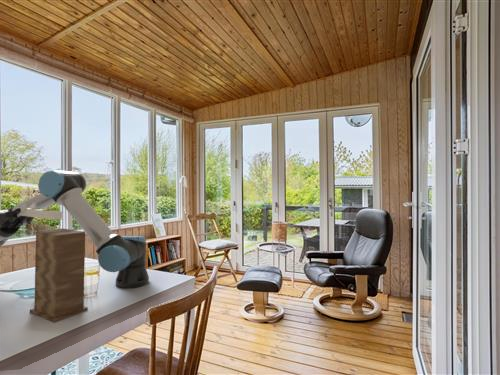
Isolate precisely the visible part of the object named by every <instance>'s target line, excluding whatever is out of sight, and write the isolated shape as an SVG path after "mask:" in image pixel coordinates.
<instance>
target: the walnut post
mask: <svg viewBox="0 0 500 375" xmlns="http://www.w3.org/2000/svg"><path fill="white" fill-rule="evenodd" d="M85 253H86V233H85V231H84V230H83V231H82V230H76V229H68V228H58V229H57V228H56V229H49V230H40V231H39V230H38V231H36V232H35V258H34V260H35V263H34V264H35V268H34V269H35V271H34V302H33V303H34V305H33V306H34V308H31V309H30V308H29V313H30V314H33V315H35V316H38V317H40V318H42V319H45V320H48V321H49V322H53V323H57V322H60V321H63V320H65V319H69V318H70V317H73V316H75V315H78V314H81V313H84V312H86V311H88V310H89V308H88V306H85V304H84V303H85V300H84V299H85V298H84V297H85V264H86V263H85V260H86V259H85V258H86V257H85V255H86V254H85Z"/></svg>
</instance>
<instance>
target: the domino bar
mask: <svg viewBox="0 0 500 375" xmlns="http://www.w3.org/2000/svg"><path fill="white" fill-rule="evenodd" d="M16 209H17V208H16ZM21 216H28V217H35V218H36V219H44V220H51V221H57V220H58V221H59V220H63V211H61V210H53V209H52V210H51V209H35V208H27V210H25V211H24V212H23V213H22V214H21ZM35 218H34V219H35Z"/></svg>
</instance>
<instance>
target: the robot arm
mask: <svg viewBox="0 0 500 375" xmlns="http://www.w3.org/2000/svg"><path fill="white" fill-rule="evenodd" d="M37 185H38V186H37V187H38V190H39V194H37V195H34V196H32V197H30V198H29V199H26V200H24V201H22V202H20V203H18V204H16V205H14V206H12V207H9V208H8V209H0V247H2V246H4V245H5V244H6V242H7V241H8V240H9V239H10V238H12V237H13V236H14V235H15V234H16V233H17V232H18V231H19V229H20V227H22V226H23V225H26V224H27V225H31V222H32V221H33V220H34V219H35V217H28V216H21V214H22V213H23V212H24V211H25V210H27V208H35V209H44V210H46V209H47V208H49V207H51V206H53V205H55V204H56V205H59V206H62V207H63V208H65V209H66V211H67V212H68V213H69V215H70V216H71V217H72V218H73V219H74V221H75V222H76V223H77V224H78V225H79V227H80V228H81V229H82V230H83V232H85V235H87V236H88V238H89V239H90V240H91V241H92V242H93V244H94V245H95V246H96V248H95V249H96V250H95V252H96V253H97V258H98V260H97V262H98V264H99V266H100V267H101V268H102V269H103V270H105V271H106V272H109V273H116V272H117V275H116V278H115V286H116V287H117V288H122V289H133V287H134V288H139V286H140V287H143V286H145V284H146V285H147V284H148V283H149V281H150V277H149V276H150V275H149V273H148V271H147V270H148V269H147V267H146V266H147V265H146V257H147V239H146V237H145V236H143V235H141V236H140V235H123V236H121V234H117V233H114V232H113V230H111V228H110V227H109V226H108V225H107V223H106V222H105V221H104V220H103V218H102V217H101V216H100V215H99V214H98V212H97V211H96V210H95V209H94V208H93V206H92V205H91V204H90V203H89V201H88V200H87V199H86V198H85V196H84V195H83V194H82V193H83V192H84V191H85V190H86V188H87V180H86V178H85V177H84V176H83V174H81V173H79V172H76V171H69V170H68V171H67V170H58V169H56V170H55V169H54V170H46V171H45V172H44V173H43V174H42V175H41V176H40V178H38V184H37ZM16 208H17V209H16ZM142 285H143V286H142Z"/></svg>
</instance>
